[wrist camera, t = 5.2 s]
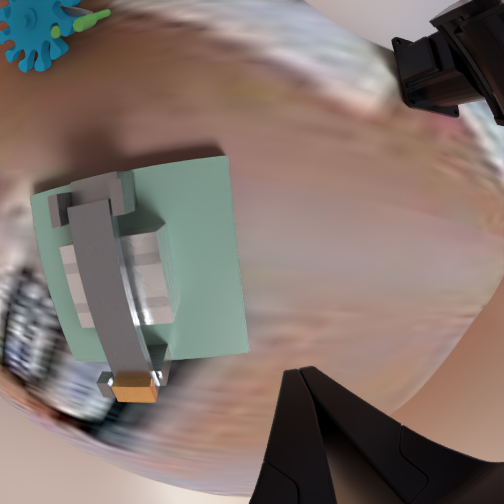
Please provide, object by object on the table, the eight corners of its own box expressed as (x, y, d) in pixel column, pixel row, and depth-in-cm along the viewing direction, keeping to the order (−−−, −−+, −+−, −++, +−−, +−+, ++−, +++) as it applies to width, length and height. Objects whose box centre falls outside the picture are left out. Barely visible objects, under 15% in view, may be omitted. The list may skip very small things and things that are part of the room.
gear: (-12, 64, 10) (3, -35, 2) (33, 37, 13) (57, -49, 5) (64, 95, 13) (99, -33, 6) (109, 64, 17) (152, -37, 9)
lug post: (170, 335, 19) (157, 383, 14) (174, 348, 19) (163, 398, 14) (120, 337, 18) (96, 383, 13) (124, 350, 19) (103, 397, 13)
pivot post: (150, 171, 16) (119, 167, 11) (153, 204, 16) (125, 214, 11) (92, 183, 16) (46, 186, 10) (96, 214, 16) (52, 228, 11)
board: (227, 157, 16) (227, 155, 15) (247, 343, 20) (249, 352, 18) (39, 194, 15) (30, 196, 14) (81, 353, 18) (75, 360, 17)
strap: (74, 206, 12) (58, 209, 10) (114, 198, 12) (101, 200, 10) (124, 385, 14) (118, 401, 13) (159, 385, 15) (155, 402, 13)
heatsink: (166, 223, 16) (155, 231, 13) (180, 301, 17) (173, 322, 14) (80, 236, 15) (59, 247, 12) (98, 308, 16) (82, 327, 14)
